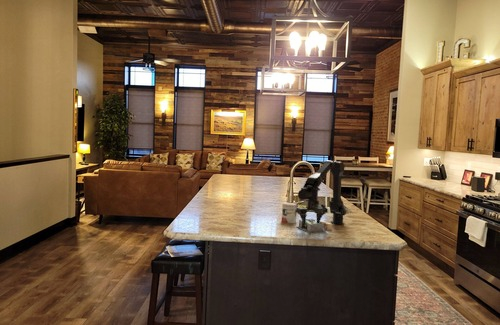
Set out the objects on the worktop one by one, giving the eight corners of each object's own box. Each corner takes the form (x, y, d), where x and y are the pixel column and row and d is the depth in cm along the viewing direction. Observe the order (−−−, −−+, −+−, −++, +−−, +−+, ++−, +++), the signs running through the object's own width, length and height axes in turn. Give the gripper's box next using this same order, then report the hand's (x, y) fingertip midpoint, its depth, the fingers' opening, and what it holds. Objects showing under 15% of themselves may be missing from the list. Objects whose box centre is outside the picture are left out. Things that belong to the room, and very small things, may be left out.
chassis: (296, 227, 224) (297, 219, 224) (312, 226, 229) (312, 218, 228) (309, 233, 212) (310, 224, 211) (325, 232, 216) (326, 223, 216)
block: (319, 226, 229) (319, 220, 228) (323, 226, 230) (323, 220, 230) (327, 229, 221) (327, 224, 221) (331, 229, 223) (331, 223, 222)
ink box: (281, 221, 237) (281, 203, 237) (283, 220, 242) (284, 202, 241) (294, 223, 234) (295, 204, 233) (296, 221, 239) (297, 203, 238)
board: (302, 223, 223) (303, 219, 223) (311, 222, 225) (311, 218, 225) (311, 226, 215) (311, 222, 214) (319, 226, 217) (320, 221, 217)
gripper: (306, 201, 208) (305, 229, 209) (334, 200, 215) (332, 226, 216) (296, 198, 218) (294, 224, 219) (322, 197, 225) (321, 222, 227)
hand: (311, 224), depth 220 cm, fingers open, 9 cm apart
